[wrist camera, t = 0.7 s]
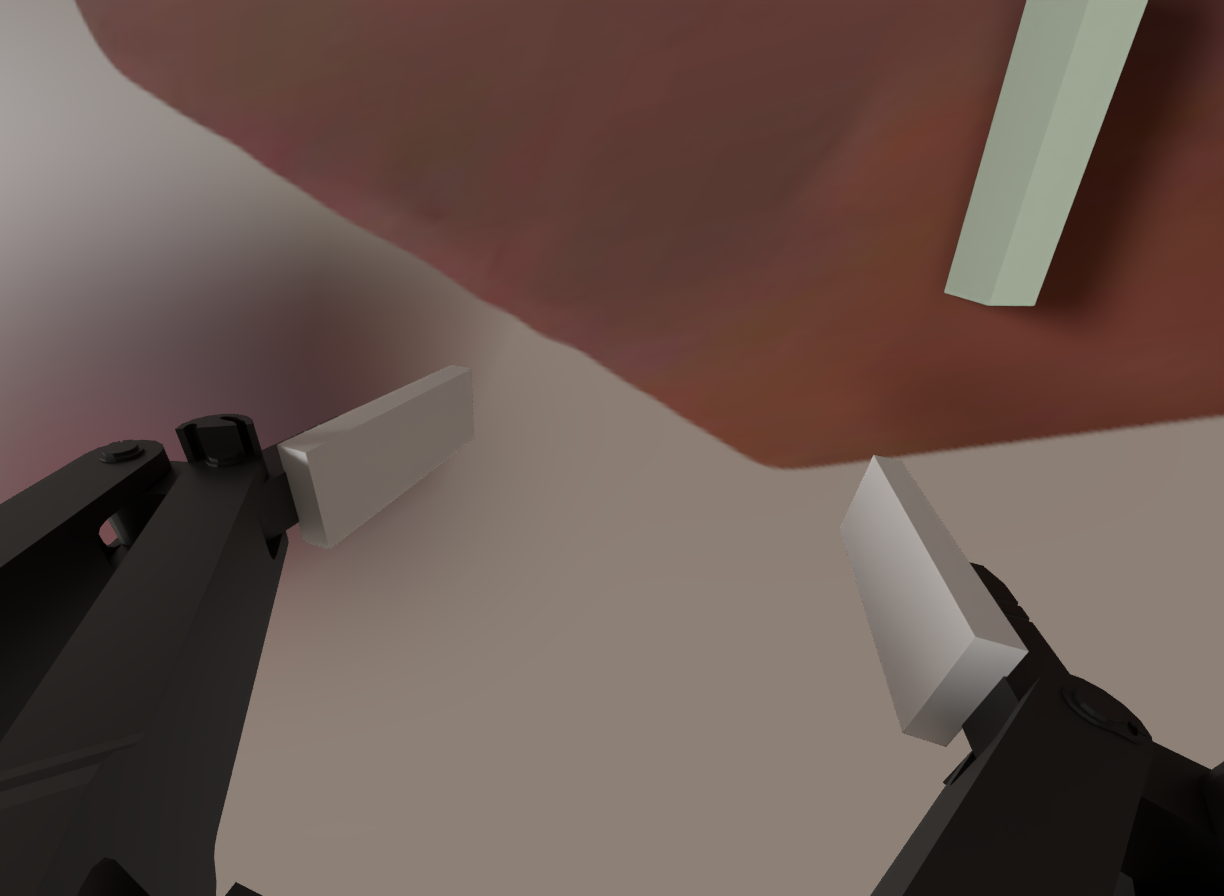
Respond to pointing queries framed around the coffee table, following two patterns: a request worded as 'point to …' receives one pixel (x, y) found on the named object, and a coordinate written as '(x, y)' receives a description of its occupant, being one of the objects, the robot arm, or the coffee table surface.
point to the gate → (1040, 144)
